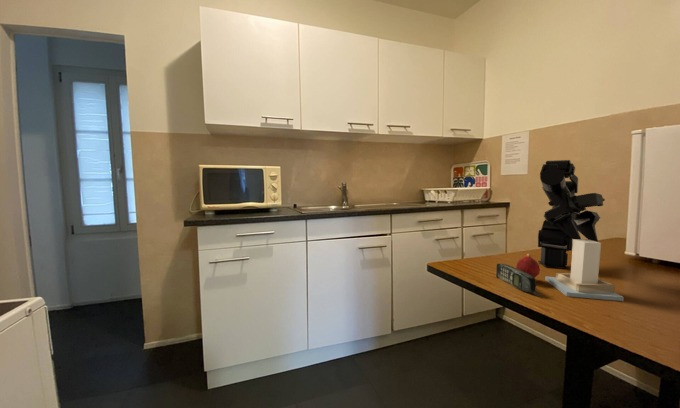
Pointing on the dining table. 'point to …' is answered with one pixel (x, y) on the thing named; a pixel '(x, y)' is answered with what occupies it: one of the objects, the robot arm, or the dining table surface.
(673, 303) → the dining table surface
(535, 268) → the onion
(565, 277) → the socket collar
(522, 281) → the mobile phone
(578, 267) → the block
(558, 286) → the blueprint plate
